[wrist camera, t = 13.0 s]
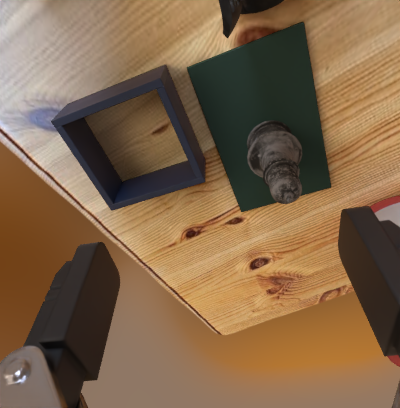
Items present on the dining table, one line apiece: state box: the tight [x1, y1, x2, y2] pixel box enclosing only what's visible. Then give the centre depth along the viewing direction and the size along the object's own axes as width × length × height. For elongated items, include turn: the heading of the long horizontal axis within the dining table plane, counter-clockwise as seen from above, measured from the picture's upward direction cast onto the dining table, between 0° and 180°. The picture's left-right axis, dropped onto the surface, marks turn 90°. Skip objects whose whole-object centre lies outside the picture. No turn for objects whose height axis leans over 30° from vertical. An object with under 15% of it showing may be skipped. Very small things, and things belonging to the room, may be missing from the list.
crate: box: [51, 64, 205, 210], centre depth 37 cm, size 12×12×5 cm
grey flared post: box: [247, 120, 302, 204], centre depth 34 cm, size 6×6×12 cm
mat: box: [187, 22, 331, 212], centre depth 38 cm, size 20×12×1 cm, turn 21°
